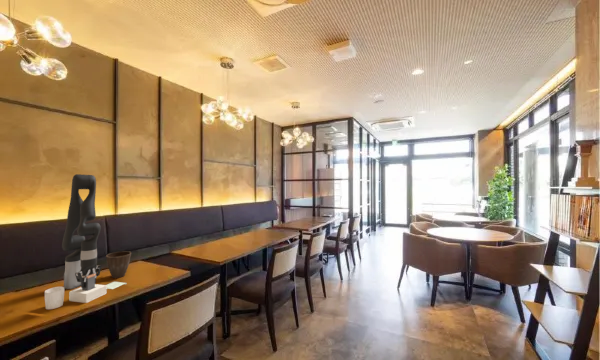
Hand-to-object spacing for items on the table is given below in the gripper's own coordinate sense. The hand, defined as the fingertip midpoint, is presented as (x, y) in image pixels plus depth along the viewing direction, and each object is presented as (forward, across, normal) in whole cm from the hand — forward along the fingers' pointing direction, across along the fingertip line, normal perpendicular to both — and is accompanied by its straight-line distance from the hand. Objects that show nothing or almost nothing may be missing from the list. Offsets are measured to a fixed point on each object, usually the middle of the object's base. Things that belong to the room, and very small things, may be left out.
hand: (88, 286), depth 149 cm
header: (+7, 0, 0) cm, 7 cm away
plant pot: (+8, -33, -14) cm, 37 cm away
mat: (+7, -17, -1) cm, 19 cm away
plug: (+6, 0, 0) cm, 6 cm away
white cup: (+8, +13, -7) cm, 16 cm away
